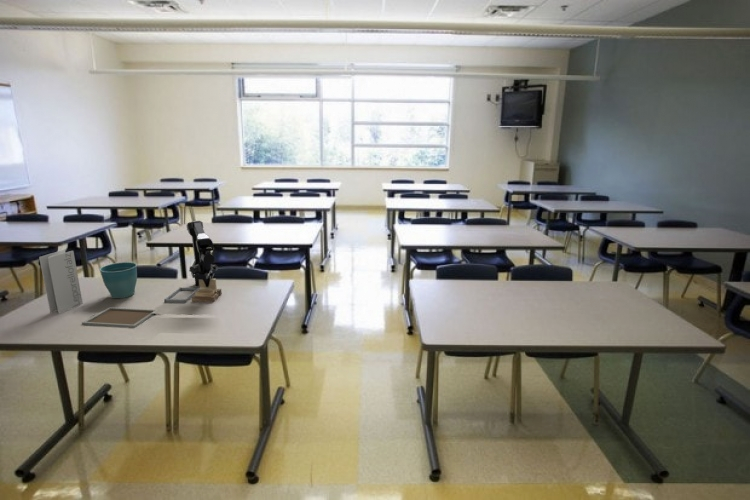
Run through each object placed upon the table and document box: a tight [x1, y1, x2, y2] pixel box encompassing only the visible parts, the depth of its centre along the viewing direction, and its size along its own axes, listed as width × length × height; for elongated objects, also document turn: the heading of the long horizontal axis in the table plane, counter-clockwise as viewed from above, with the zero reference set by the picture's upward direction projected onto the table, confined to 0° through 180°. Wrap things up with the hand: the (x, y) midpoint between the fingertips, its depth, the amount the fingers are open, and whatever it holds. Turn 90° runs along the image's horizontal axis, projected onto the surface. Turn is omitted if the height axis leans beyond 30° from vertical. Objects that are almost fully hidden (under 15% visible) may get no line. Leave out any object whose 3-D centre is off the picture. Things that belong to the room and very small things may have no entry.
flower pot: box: [99, 261, 138, 299], centre depth 242 cm, size 18×18×17 cm
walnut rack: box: [191, 288, 222, 303], centre depth 238 cm, size 12×12×4 cm
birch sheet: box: [198, 278, 218, 292], centre depth 239 cm, size 2×9×10 cm, turn 90°
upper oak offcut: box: [195, 290, 215, 297], centre depth 234 cm, size 4×9×2 cm, turn 90°
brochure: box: [38, 249, 83, 315], centre depth 221 cm, size 14×6×30 cm, turn 168°
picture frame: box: [81, 306, 157, 328], centre depth 214 cm, size 19×2×30 cm
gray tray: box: [163, 286, 200, 303], centre depth 240 cm, size 19×12×3 cm, turn 0°
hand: (208, 286), depth 239 cm, fingers closed on birch sheet, 1 cm apart
